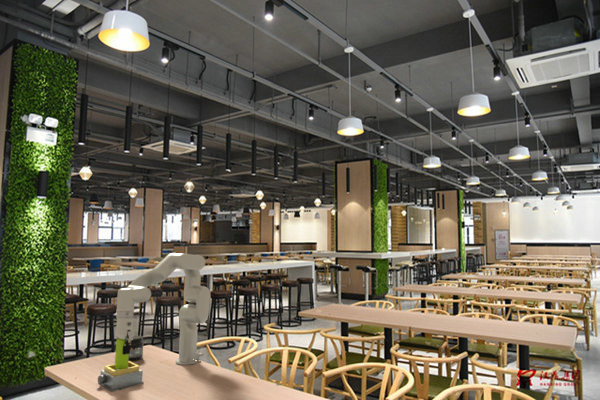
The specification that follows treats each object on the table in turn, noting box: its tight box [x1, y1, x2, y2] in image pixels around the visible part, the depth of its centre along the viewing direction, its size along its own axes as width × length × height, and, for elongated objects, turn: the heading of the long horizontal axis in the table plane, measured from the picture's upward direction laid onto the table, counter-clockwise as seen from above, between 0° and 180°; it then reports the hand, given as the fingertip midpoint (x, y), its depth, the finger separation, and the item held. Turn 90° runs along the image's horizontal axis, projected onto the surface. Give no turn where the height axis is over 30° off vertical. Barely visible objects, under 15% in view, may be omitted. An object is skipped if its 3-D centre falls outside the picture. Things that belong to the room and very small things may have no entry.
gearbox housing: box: [97, 361, 144, 392], centre depth 195 cm, size 17×15×8 cm
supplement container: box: [127, 335, 144, 362], centre depth 237 cm, size 10×10×12 cm
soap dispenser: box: [114, 338, 129, 369], centre depth 197 cm, size 6×7×20 cm
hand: (123, 352), depth 197 cm, fingers closed on soap dispenser, 6 cm apart
